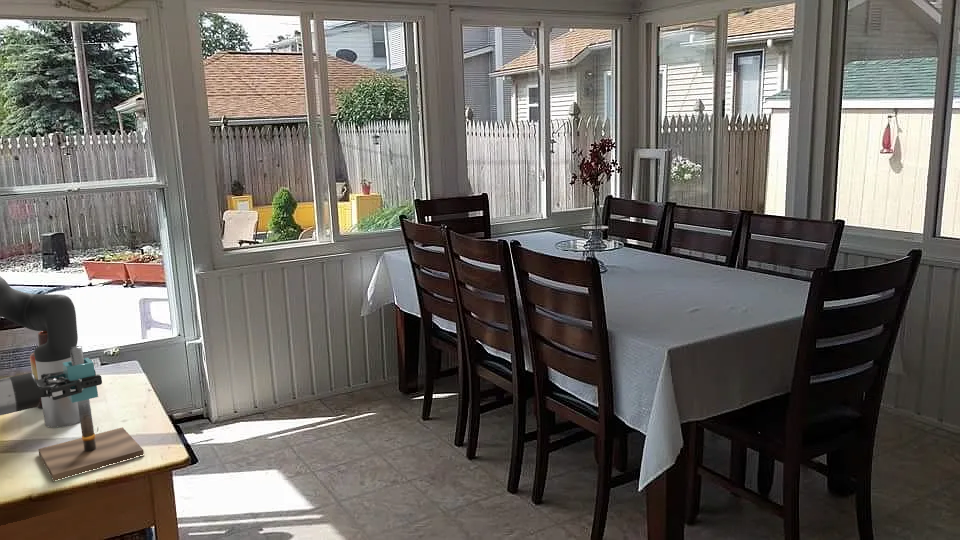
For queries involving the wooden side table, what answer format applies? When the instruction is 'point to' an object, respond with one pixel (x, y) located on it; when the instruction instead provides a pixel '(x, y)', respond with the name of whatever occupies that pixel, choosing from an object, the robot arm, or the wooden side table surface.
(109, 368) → the wooden side table surface
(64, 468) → the stand board
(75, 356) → the pipe
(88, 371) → the sleeve
